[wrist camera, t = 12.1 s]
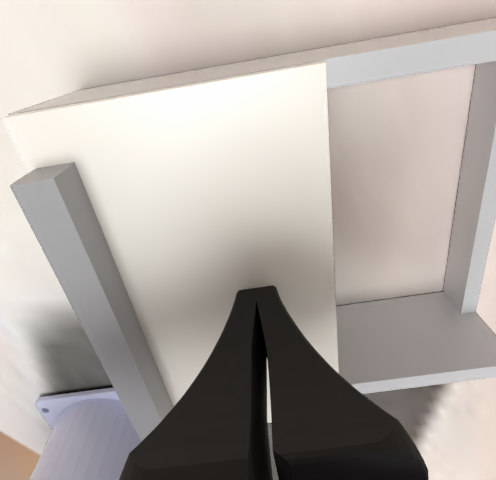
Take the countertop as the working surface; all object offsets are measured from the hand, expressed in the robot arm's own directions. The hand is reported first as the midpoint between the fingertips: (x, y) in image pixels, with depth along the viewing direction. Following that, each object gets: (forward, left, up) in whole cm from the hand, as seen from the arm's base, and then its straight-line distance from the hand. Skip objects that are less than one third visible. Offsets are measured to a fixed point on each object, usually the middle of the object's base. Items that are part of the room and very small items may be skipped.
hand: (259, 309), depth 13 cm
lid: (0, +2, -1) cm, 2 cm away
